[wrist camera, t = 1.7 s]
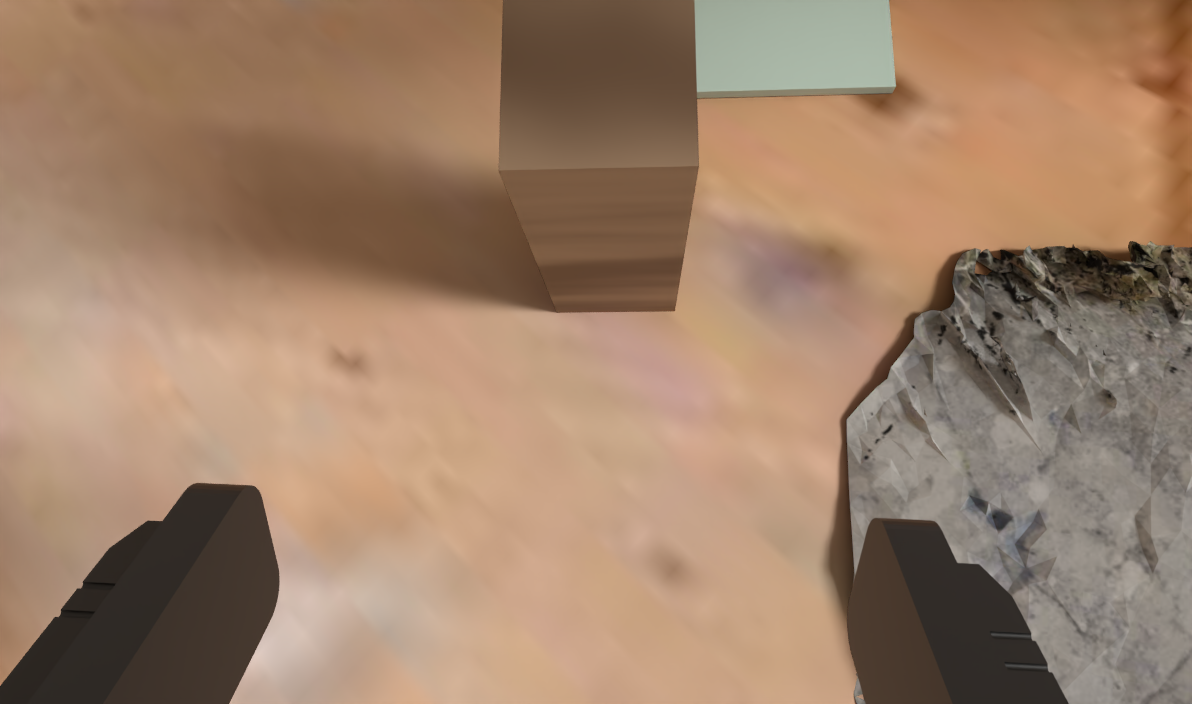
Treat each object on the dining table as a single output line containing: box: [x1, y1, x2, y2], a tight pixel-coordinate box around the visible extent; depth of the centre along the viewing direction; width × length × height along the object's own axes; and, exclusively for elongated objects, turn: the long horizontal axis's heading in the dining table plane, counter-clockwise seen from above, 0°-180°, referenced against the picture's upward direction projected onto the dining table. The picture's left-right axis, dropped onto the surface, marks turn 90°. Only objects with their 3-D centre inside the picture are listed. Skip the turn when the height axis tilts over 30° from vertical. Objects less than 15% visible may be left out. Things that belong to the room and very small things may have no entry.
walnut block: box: [499, 0, 699, 313], centre depth 25 cm, size 4×4×13 cm
